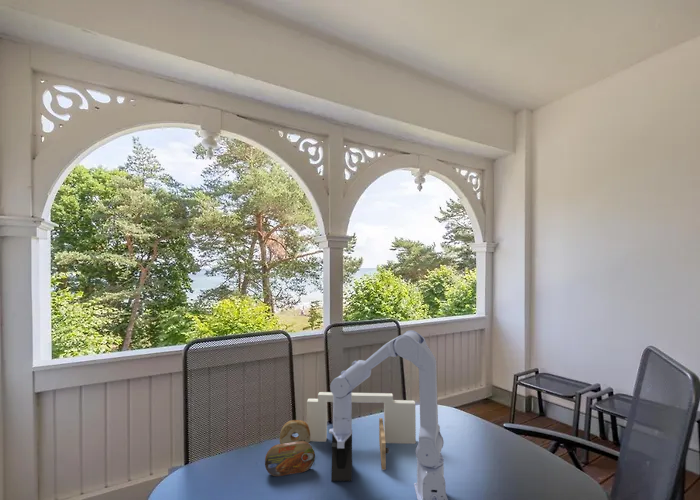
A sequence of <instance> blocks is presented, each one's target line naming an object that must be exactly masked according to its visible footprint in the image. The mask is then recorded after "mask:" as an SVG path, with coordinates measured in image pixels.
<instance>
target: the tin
mask: <svg viewBox="0 0 700 500" xmlns="http://www.w3.org/2000/svg"><path fill="white" fill-rule="evenodd" d="M315 460H316V454H315V449H314V448H313V446H312V445H311V444H310V442H309V443H308V442H305V441H298V442H291V443H284V444H280V443H278V444H275V445H273V446H272V447H270V448H269V449H268V450H267V452H266V454H265V459H264V467H265V470H266V471H267V473H268V474H269V475H271V476H273V477H283V476H288V475H294V474H295V475H296V474H301V473H304V472H307V471H309V470H310V469H311V467H312V466H313V465H314V462H315Z"/></svg>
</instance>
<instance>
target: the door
mask: <svg viewBox="0 0 700 500" xmlns="http://www.w3.org/2000/svg"><path fill="white" fill-rule="evenodd" d="M383 419H384V418H383V417H379V420H378V425H379V426H378V427H379V428H378V431H379V432H378V434H379V435H378V436H379V437H378V439H379V440H378V441H379V453H380V454H379V455H380V462H381V463H380V465H381V471H385V470H386V469H387V467H386V465H387V463H386V460H387V459H386V454H390V447H387V446H386V445H387V443H386V442H385V434H384V420H383Z"/></svg>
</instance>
